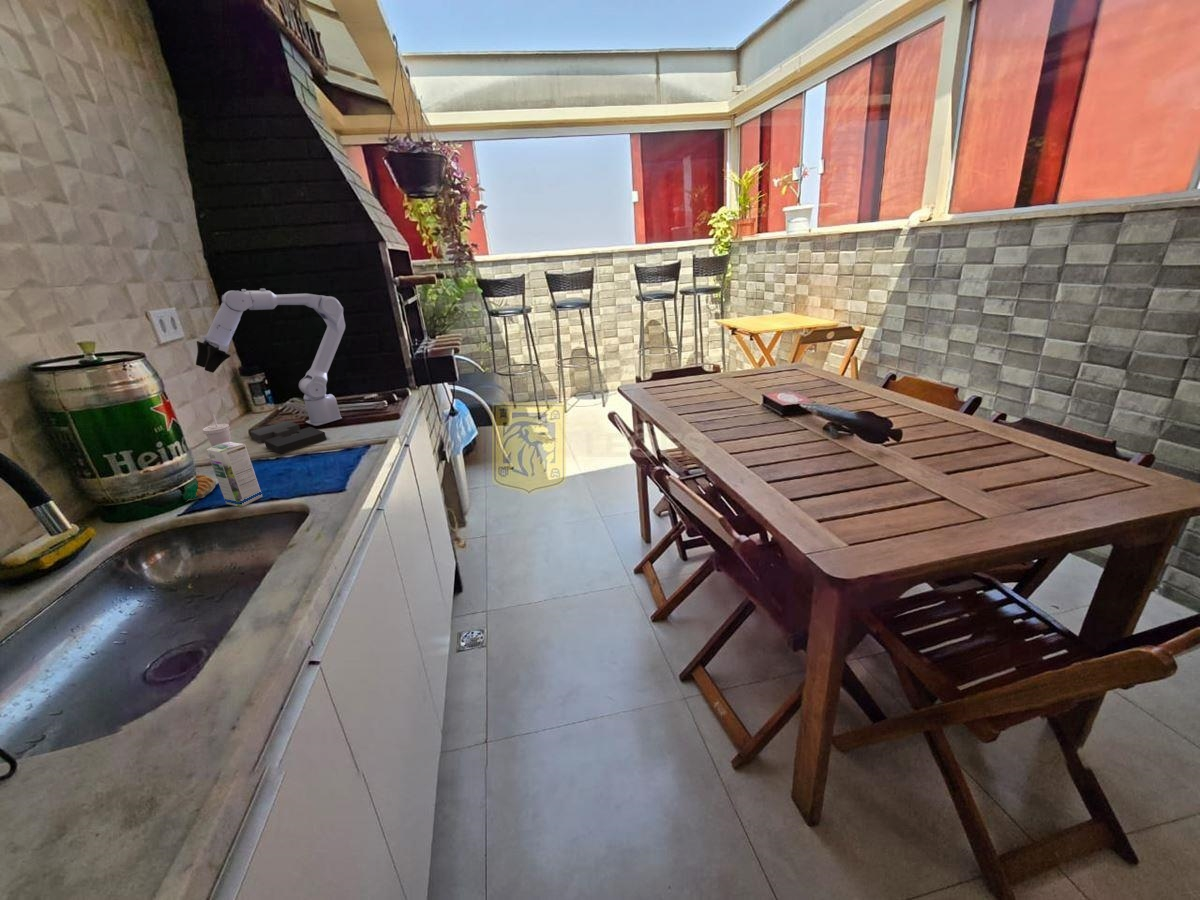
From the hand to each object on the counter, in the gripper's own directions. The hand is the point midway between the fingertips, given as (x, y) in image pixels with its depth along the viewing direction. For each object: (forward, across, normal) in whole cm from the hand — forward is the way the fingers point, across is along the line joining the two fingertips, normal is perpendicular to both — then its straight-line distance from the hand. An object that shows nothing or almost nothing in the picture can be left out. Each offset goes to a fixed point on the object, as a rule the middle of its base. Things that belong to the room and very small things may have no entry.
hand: (204, 368), depth 147 cm
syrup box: (+23, +52, +2) cm, 57 cm away
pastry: (+27, +37, -2) cm, 46 cm away
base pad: (+11, +21, +23) cm, 33 cm away
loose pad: (+13, +8, +23) cm, 28 cm away
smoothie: (+22, +15, +9) cm, 28 cm away
